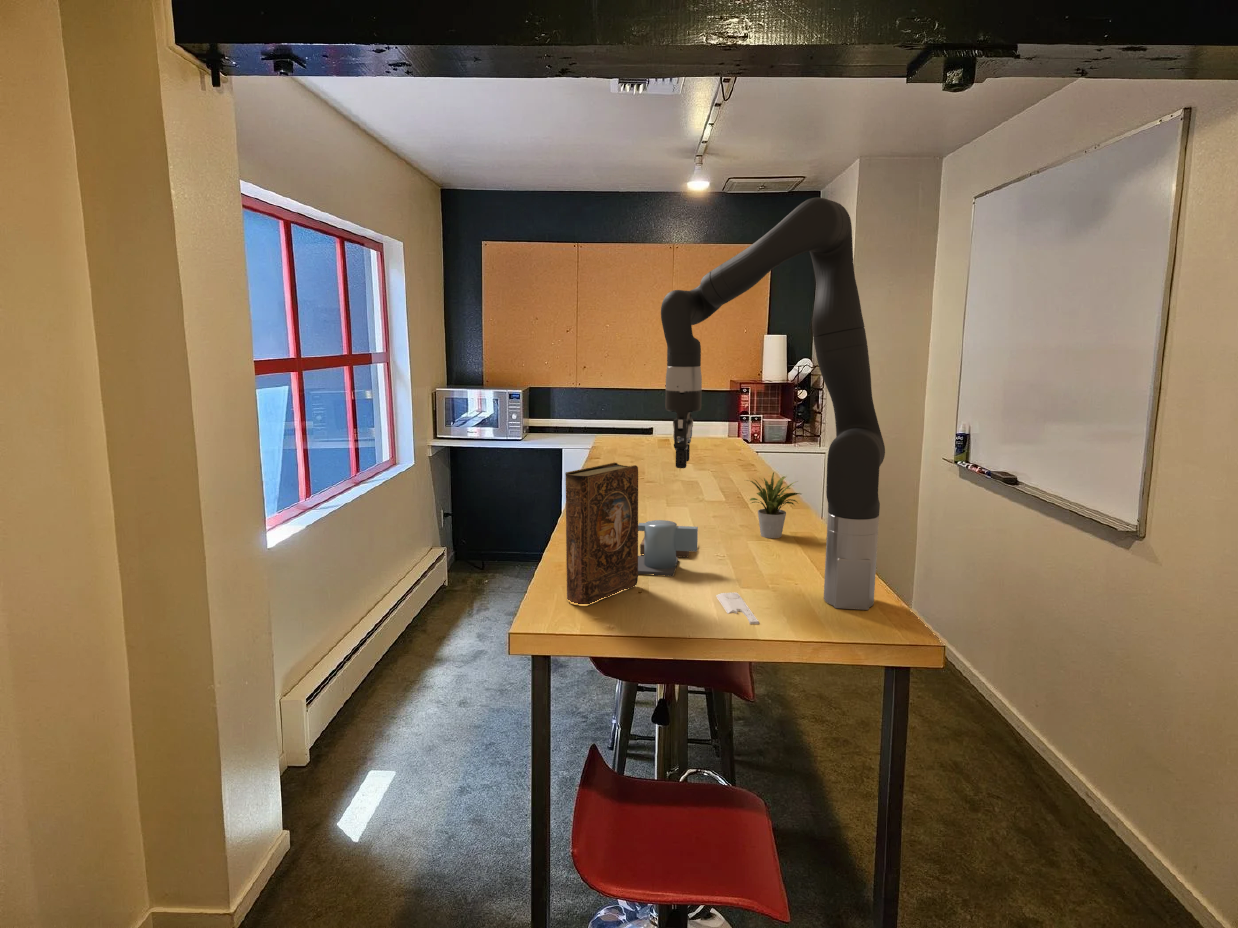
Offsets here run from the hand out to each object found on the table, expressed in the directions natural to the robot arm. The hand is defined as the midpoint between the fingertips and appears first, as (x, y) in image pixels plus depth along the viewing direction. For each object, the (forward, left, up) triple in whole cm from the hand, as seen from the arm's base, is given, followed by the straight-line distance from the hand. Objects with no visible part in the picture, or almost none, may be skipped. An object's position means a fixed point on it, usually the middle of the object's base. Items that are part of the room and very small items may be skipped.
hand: (682, 464), depth 161 cm
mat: (0, +7, -23) cm, 24 cm away
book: (-18, +14, -23) cm, 33 cm away
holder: (+14, +5, -23) cm, 27 cm away
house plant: (+30, -19, -23) cm, 43 cm away
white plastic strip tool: (-23, -12, -24) cm, 35 cm away
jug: (0, +3, -22) cm, 23 cm away
